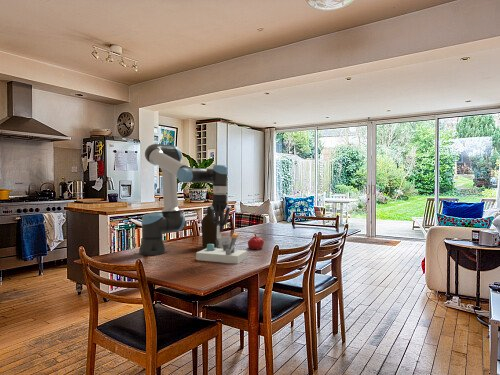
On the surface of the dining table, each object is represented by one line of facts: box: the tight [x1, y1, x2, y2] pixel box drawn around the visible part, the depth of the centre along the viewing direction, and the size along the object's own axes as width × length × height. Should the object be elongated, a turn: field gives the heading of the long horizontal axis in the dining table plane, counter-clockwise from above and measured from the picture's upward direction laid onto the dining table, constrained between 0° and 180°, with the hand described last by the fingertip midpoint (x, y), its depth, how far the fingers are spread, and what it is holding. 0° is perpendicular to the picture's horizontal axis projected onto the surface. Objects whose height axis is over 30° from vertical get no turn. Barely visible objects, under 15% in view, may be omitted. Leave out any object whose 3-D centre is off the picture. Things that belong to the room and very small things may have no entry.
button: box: [207, 244, 215, 251], centre depth 189 cm, size 4×4×5 cm
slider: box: [223, 244, 229, 250], centre depth 188 cm, size 2×3×3 cm
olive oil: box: [200, 207, 218, 249], centre depth 219 cm, size 11×11×25 cm
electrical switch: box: [215, 235, 231, 249], centre depth 203 cm, size 9×5×9 cm, turn 141°
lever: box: [229, 232, 240, 252], centre depth 179 cm, size 2×4×10 cm, turn 160°
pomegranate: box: [247, 233, 264, 250], centre depth 213 cm, size 10×10×9 cm
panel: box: [195, 247, 248, 265], centre depth 185 cm, size 24×14×7 cm, turn 70°
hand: (219, 237), depth 182 cm, fingers closed
